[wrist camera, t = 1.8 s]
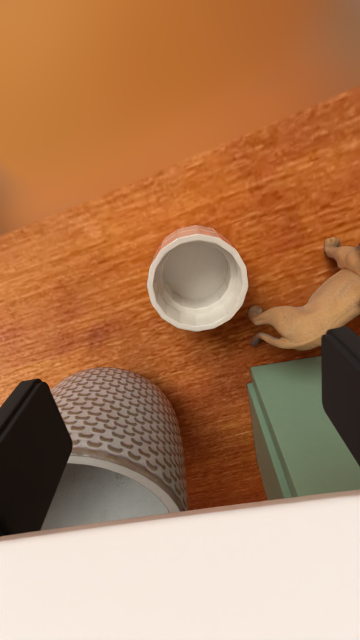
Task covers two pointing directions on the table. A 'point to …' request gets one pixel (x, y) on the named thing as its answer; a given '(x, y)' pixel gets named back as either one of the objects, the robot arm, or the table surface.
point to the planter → (117, 450)
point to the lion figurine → (316, 305)
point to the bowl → (197, 279)
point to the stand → (297, 433)
